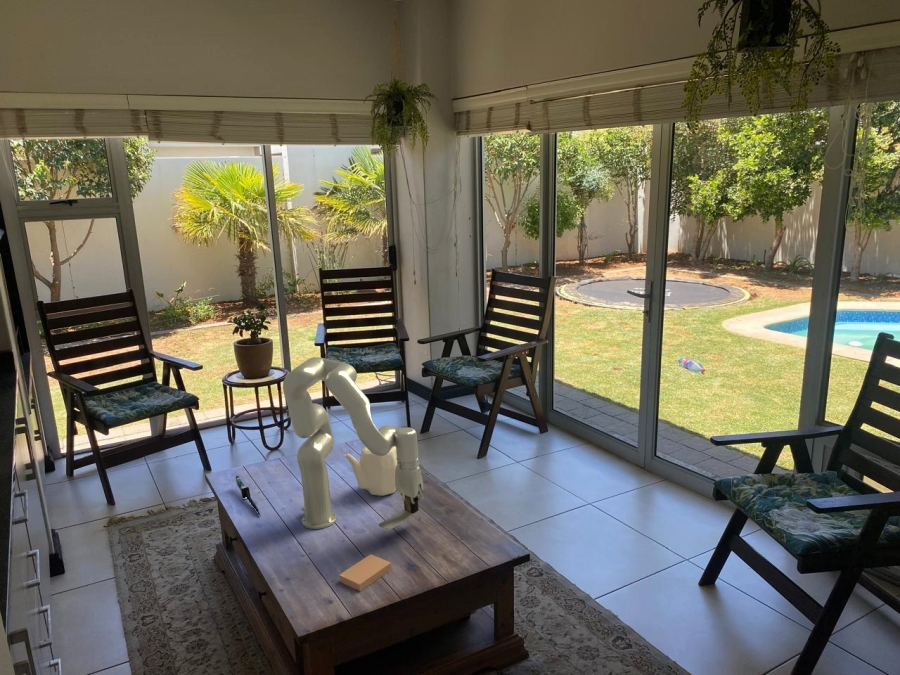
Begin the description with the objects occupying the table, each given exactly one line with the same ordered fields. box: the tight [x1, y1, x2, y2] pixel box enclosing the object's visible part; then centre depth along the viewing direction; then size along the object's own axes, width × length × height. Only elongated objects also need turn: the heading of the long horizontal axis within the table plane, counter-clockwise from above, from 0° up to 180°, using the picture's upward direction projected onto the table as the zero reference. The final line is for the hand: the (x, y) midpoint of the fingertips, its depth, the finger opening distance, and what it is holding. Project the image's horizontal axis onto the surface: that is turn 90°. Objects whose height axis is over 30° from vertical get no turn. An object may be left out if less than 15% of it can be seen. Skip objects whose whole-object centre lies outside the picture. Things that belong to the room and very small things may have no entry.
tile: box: [338, 554, 393, 592], centre depth 212 cm, size 9×3×14 cm
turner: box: [378, 496, 420, 531], centre depth 235 cm, size 5×16×6 cm, turn 138°
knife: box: [235, 475, 261, 517], centre depth 264 cm, size 31×3×4 cm, turn 29°
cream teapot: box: [344, 445, 397, 497], centre depth 267 cm, size 16×27×19 cm, turn 118°
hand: (411, 510), depth 239 cm, fingers closed on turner, 2 cm apart
